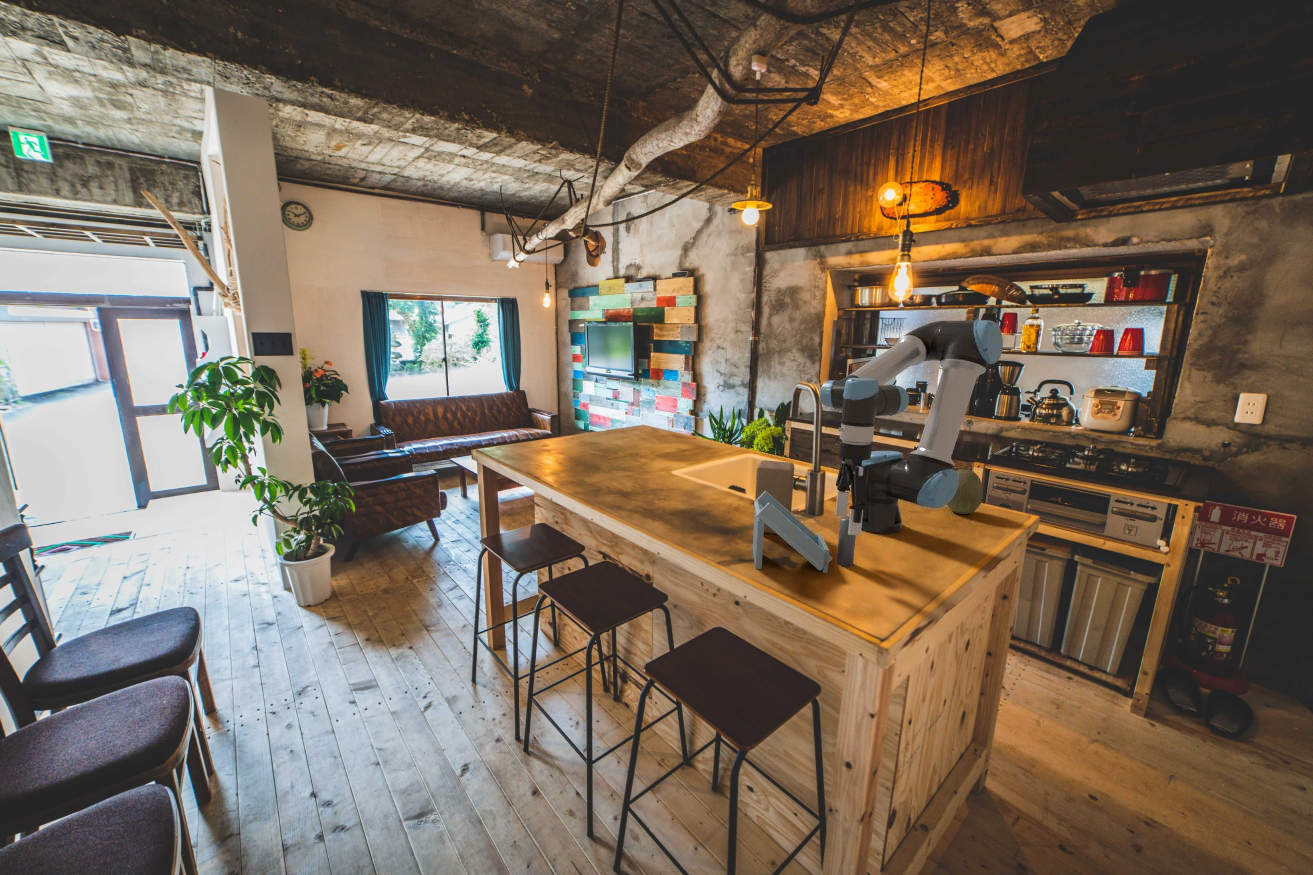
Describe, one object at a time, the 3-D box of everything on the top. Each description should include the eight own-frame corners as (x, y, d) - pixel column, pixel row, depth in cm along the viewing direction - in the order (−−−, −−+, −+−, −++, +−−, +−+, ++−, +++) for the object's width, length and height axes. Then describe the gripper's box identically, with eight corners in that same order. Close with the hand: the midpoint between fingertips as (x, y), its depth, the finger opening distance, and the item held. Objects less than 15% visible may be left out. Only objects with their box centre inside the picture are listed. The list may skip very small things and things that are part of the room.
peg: (850, 560, 133) (854, 516, 130) (854, 567, 129) (859, 522, 126) (834, 559, 133) (838, 515, 131) (838, 566, 129) (842, 521, 127)
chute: (822, 555, 136) (828, 493, 132) (831, 573, 125) (837, 506, 122) (751, 551, 138) (754, 490, 134) (754, 568, 127) (757, 502, 124)
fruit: (935, 511, 171) (940, 468, 168) (947, 504, 178) (953, 463, 175) (973, 521, 163) (980, 475, 160) (984, 513, 170) (991, 469, 167)
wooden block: (790, 525, 157) (794, 462, 153) (787, 536, 148) (792, 470, 144) (757, 521, 160) (761, 459, 156) (753, 532, 151) (756, 466, 147)
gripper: (828, 432, 137) (821, 507, 141) (852, 451, 113) (843, 542, 117) (857, 433, 136) (850, 509, 140) (888, 453, 112) (877, 544, 116)
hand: (847, 524), depth 129 cm, fingers open, 13 cm apart
